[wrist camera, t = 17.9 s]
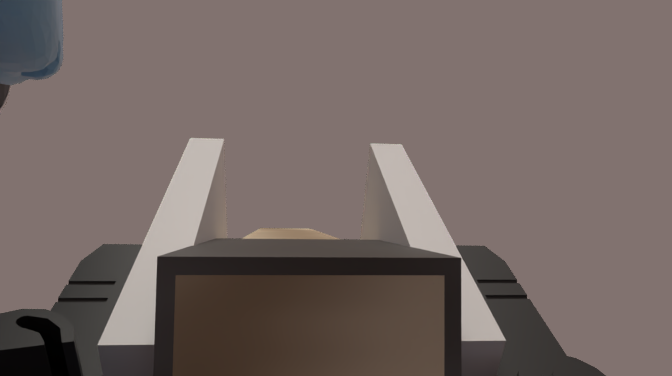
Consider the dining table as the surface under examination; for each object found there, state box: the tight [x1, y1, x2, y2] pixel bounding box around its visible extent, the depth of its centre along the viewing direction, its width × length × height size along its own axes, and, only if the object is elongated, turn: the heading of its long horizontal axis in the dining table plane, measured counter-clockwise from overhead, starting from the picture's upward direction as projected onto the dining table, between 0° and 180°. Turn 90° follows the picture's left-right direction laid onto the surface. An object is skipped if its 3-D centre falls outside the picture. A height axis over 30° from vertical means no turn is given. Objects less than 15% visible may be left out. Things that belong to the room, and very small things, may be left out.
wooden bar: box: [153, 228, 462, 376], centre depth 19 cm, size 3×26×3 cm, turn 6°
